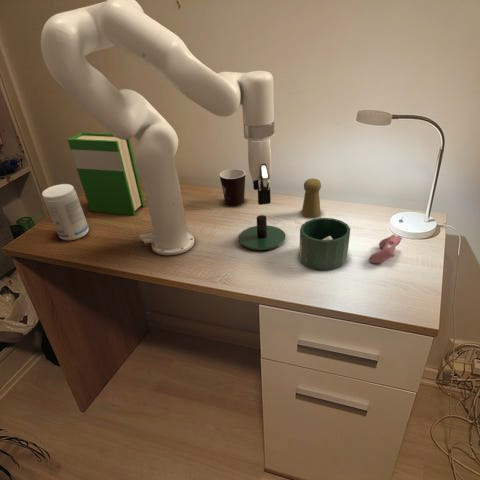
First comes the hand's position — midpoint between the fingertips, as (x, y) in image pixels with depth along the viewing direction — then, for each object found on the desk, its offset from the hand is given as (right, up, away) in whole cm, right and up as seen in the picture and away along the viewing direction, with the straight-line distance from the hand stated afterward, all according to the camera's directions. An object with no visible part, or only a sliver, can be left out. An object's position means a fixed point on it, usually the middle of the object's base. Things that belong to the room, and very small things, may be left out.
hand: (261, 196), depth 113 cm
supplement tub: (-59, -6, +20) cm, 63 cm away
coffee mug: (-8, +8, +31) cm, 33 cm away
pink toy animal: (+33, -17, -2) cm, 37 cm away
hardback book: (-49, +5, +32) cm, 59 cm away
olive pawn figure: (+17, 0, +20) cm, 26 cm away
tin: (+17, -17, 0) cm, 24 cm away
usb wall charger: (+16, -15, -2) cm, 22 cm away
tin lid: (+1, -10, +9) cm, 13 cm away
